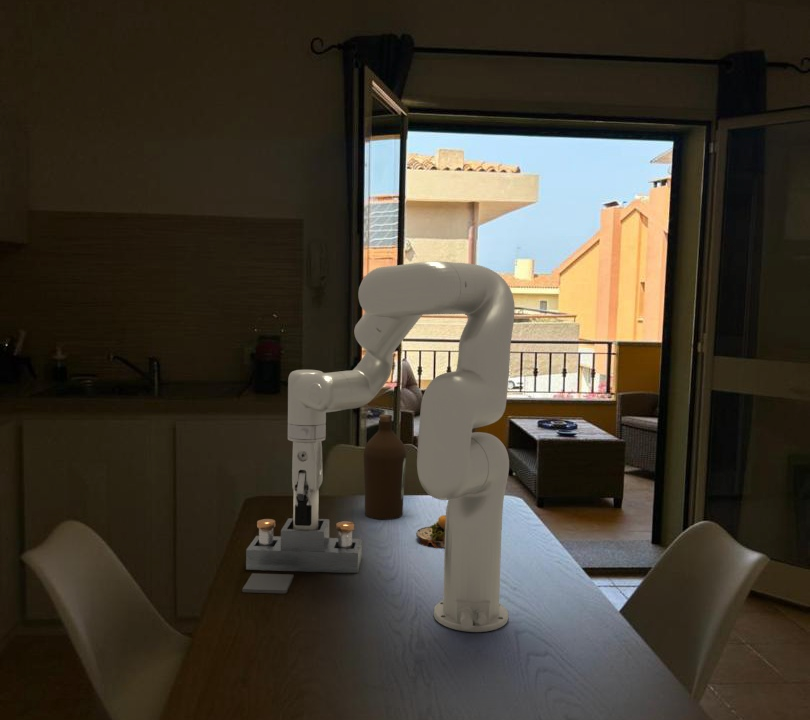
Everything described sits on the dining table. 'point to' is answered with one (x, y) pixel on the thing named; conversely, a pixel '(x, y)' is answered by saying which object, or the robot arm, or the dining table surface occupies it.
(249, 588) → the mat
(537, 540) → the dining table surface
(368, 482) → the olive oil
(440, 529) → the burger
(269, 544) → the plunger
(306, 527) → the cylinder
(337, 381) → the robot arm
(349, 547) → the plunger
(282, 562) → the housing
